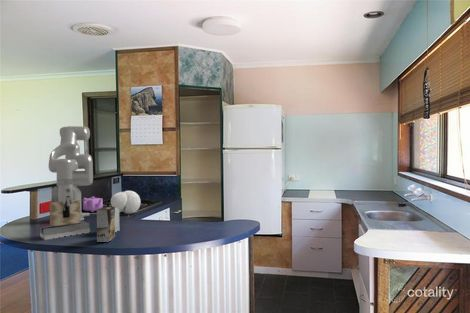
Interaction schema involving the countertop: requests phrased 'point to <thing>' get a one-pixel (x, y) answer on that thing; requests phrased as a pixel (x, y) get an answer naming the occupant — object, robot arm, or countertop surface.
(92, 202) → the purple lumpy block
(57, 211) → the door panel
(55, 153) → the robot arm
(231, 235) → the countertop surface
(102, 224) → the coffee box
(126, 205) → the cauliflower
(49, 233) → the door track
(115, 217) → the supplement box
